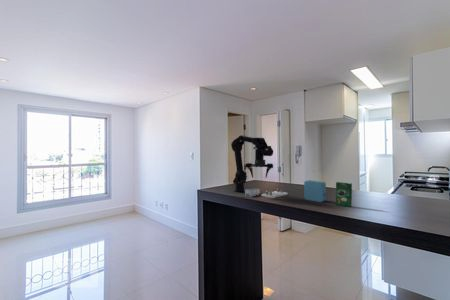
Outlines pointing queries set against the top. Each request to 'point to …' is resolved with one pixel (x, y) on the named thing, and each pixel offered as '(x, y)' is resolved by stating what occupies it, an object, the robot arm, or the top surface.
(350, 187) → the coffee box
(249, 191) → the drive
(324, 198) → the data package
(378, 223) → the top surface
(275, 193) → the pin tray
